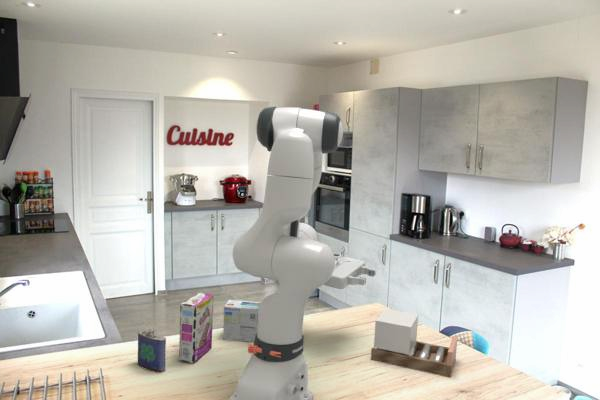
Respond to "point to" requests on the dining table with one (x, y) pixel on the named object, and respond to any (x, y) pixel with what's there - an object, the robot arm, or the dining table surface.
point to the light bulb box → (240, 320)
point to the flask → (151, 351)
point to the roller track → (413, 359)
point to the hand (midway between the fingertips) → (370, 277)
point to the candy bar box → (195, 327)
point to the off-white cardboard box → (396, 331)
